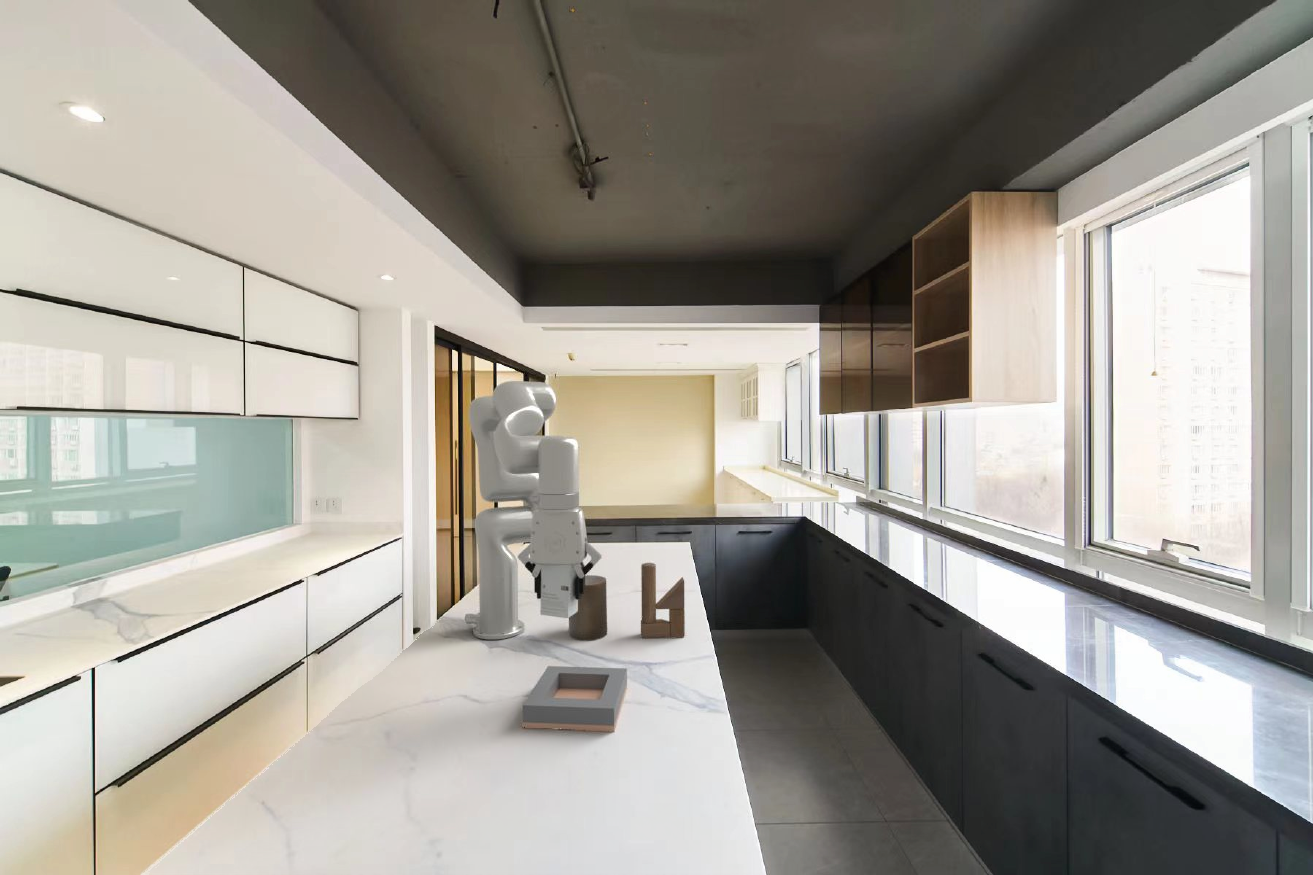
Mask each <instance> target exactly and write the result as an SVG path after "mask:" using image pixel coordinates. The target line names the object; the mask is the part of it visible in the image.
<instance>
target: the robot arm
mask: <svg viewBox="0 0 1313 875" xmlns="http://www.w3.org/2000/svg"><path fill="white" fill-rule="evenodd" d="M556 397H557V396H556V393H555V391H554V389H553V388H552V387H551V386H550V385H549V384H548V383H546V382H543V381H542V382H541V381H522V380H520V381H519V380H509V381H504V382H502V383H500V384H498V385H497V386H496V387H494V390H493V392H492V395H486V396H481V397H480V396H479V397H476V398H475V399H472V400H471V402H470V404H469V408H468V423H469V426H470V430H471V432H472V433H471V434H472V436H473V439H474V441H475V444H476V448H477V458H478V459H477V463H478V464H477V465H478V483H479V493H480V496H481V498H482V500H483V501H485V502H489V503H506V502H517V501H519V502H523V505H518V506H516V505H515V506H502V507H491V508H488V509H484V510H482V511H480V512H479V513H478V514H477V515H476V517H475V520H474V531H475V537H476V544H477V550H478V551H477V552H478V573H479V574H478V576H479V578H478V581H479V584H478V589H479V590H478V592H479V593H478V595H479V598H478V600H479V601H478V602H479V603H478V604H479V612H477V613H476V614H475V613H465V615H464V621H465V624H467V625H469V624H470V625H475V626H474V627H473V632H472V633H473V635H474V636H475V637H476V638H479V639H482V640H488V641H489V640H492V641H493V640H503V639H509V638H512V637H516V636H518V635H520V634H521V633H522V632H523V631H525V622H523V621H522V620H520V619H519V586H518V585H519V580H518V579H519V577H518V574H519V573H518V571H519V569H518V568H519V567H518V566H519V563H518V561H520V562H521V563H522V564H523V565H524V567H525V568H526V569H527V571H528V572H530V574H531V576H532V578H534V581H533V582H534V593H535V594H536V598H537V600H539V599H540V600H541V568H542V565H573V567H574V569H575V571H576V573H577V577H576V578H575V599H576V600H579V599H580V598H581V597H582V595H583V594H584V593H585V576H587V575H588V573H589V572H590V571H591V570H592V569H593V568H594V567H595V565H596V564H597V563H598V562H599V561H601V559H602V554H601V553H600V552H599V551H598V550H597V549H596V548H594V547H593V546H592V544H590V543H589V542H588V536H587V529H586V520H585V516H584V511H583V510H584V509H583V508H580V484H579V483H580V481H579V480H580V478H579V477H580V476H579V475H580V470H579V469H580V466H579V463H580V461H579V460H580V459H579V458H580V457H579V455H580V454H579V448H580V447H579V442H578V440H577V439H576V438H575V437H572V436H571V437H570V436H562V435H537V434H538V433H539V432H540V431H541V430H542V428H543V426H544V423H545V422H547V420H549V419H550V418H551V416H552V415H553V414H554V412H555V410H556V406H557V398H556ZM523 543H524V544H525V543H529V545H527V546H526V547H525V548H524V549H523V550H522V551H521V552H520V553H519V554H518V555H517V557H516V556H515V554H513V552H512V551H511V550H510V549H509V547H508V546H510V545H514V544H523ZM588 555H589V556H590V560H589V561H588V563H587V564H585V563H584V560H585V559H586V558H587V557H588Z"/></svg>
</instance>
